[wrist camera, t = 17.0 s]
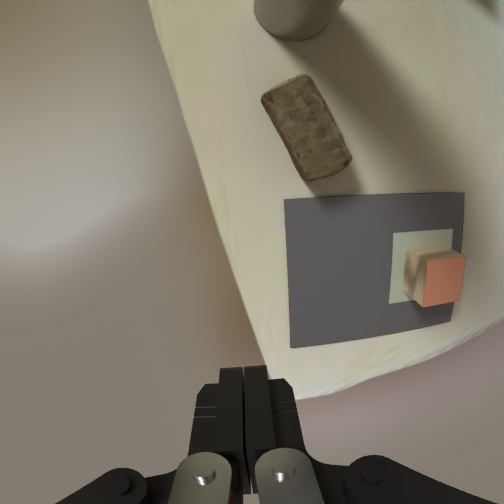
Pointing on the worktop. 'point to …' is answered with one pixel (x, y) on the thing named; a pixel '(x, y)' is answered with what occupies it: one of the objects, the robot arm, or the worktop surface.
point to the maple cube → (433, 274)
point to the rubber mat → (362, 262)
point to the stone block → (306, 128)
